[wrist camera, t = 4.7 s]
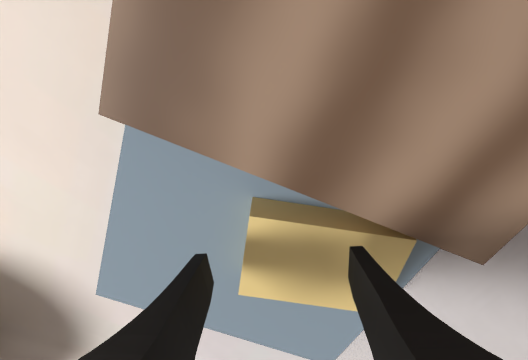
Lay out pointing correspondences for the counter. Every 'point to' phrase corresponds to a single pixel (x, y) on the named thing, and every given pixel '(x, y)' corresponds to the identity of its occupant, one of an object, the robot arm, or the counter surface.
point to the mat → (211, 246)
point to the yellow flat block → (312, 252)
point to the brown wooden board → (343, 103)
